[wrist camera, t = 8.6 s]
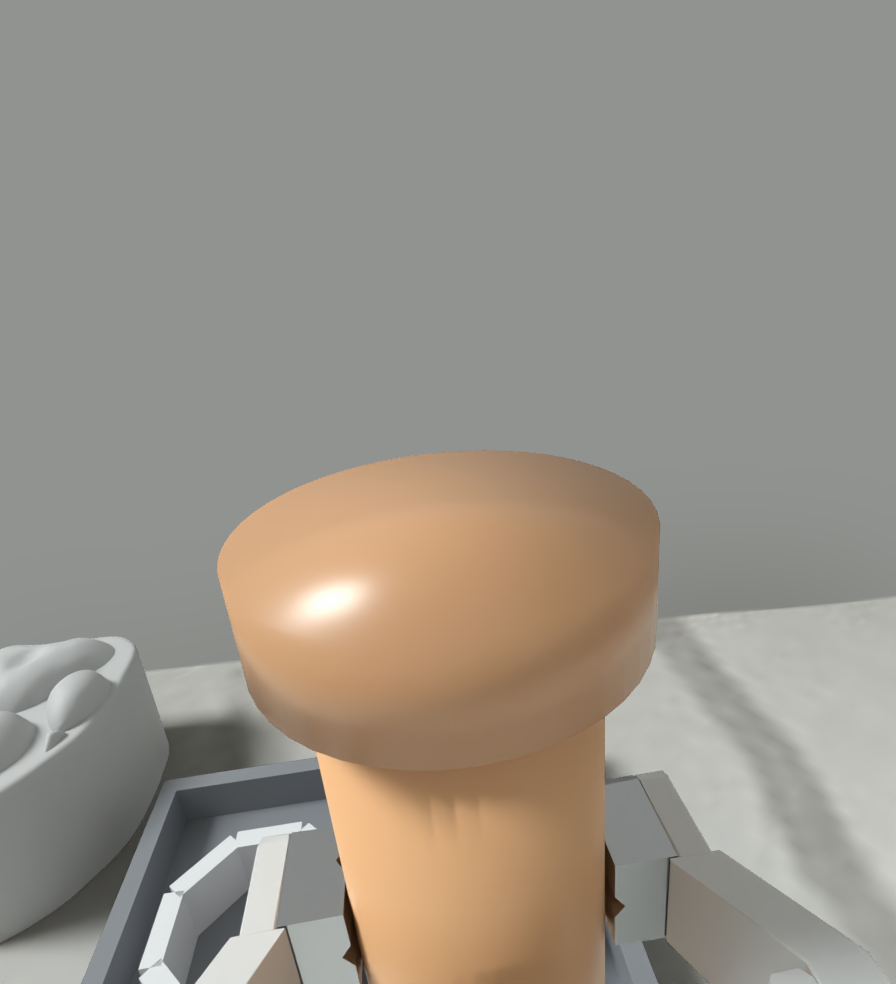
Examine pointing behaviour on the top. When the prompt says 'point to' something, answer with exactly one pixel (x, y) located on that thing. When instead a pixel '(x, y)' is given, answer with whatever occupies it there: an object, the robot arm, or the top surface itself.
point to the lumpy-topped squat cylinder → (71, 768)
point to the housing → (227, 875)
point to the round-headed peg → (456, 694)
